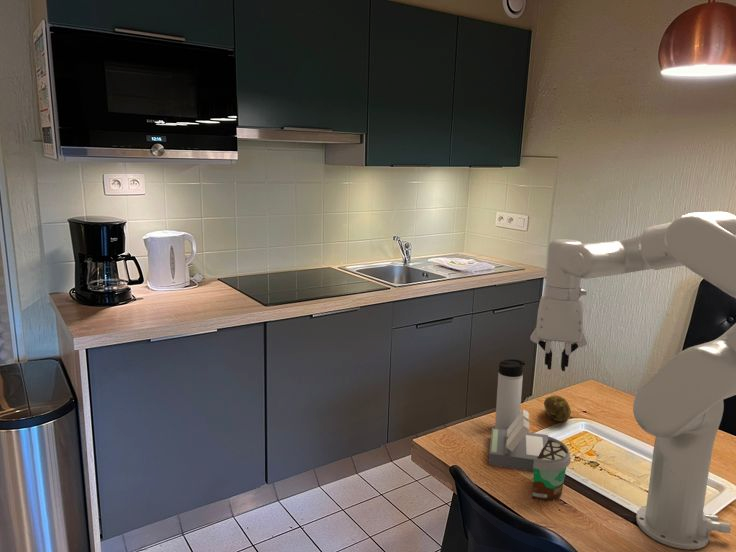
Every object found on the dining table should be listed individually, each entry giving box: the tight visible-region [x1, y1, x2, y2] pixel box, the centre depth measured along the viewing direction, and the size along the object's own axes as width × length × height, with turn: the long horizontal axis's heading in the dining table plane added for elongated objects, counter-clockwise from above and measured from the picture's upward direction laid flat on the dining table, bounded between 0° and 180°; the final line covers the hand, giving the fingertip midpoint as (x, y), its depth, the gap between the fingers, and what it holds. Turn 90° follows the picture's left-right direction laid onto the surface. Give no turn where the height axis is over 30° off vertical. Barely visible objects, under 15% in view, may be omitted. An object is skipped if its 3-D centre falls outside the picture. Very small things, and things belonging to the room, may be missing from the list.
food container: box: [531, 435, 571, 502], centre depth 118 cm, size 12×6×10 cm, turn 148°
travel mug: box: [494, 358, 526, 430], centre depth 145 cm, size 6×7×20 cm
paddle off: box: [505, 419, 530, 455], centre depth 129 cm, size 2×4×8 cm, turn 165°
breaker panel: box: [488, 427, 549, 472], centre depth 134 cm, size 14×14×3 cm
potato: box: [543, 394, 572, 422], centre depth 153 cm, size 8×13×8 cm, turn 142°
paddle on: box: [505, 408, 530, 443], centre depth 135 cm, size 2×4×8 cm, turn 165°
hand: (555, 367), depth 129 cm, fingers open, 2 cm apart
